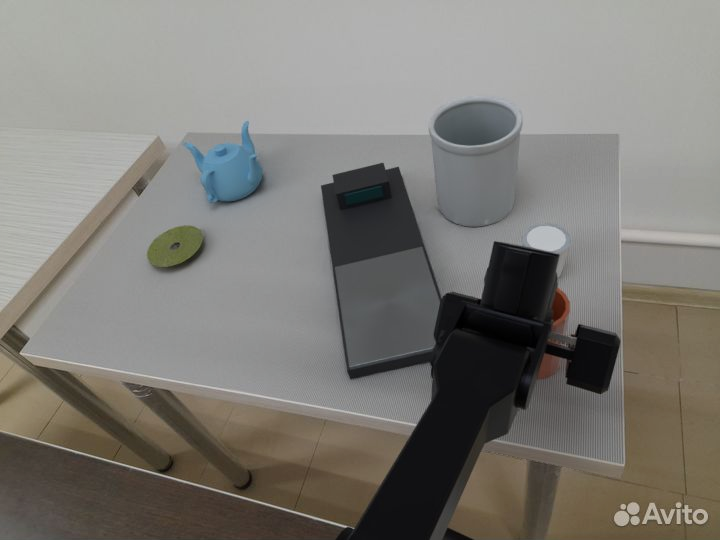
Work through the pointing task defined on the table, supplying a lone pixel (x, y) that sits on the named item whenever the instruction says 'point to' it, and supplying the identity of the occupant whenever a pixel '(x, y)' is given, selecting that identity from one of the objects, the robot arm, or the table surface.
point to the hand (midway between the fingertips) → (532, 328)
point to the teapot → (229, 169)
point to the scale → (379, 271)
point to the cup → (559, 326)
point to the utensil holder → (476, 158)
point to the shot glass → (548, 240)
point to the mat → (174, 246)
